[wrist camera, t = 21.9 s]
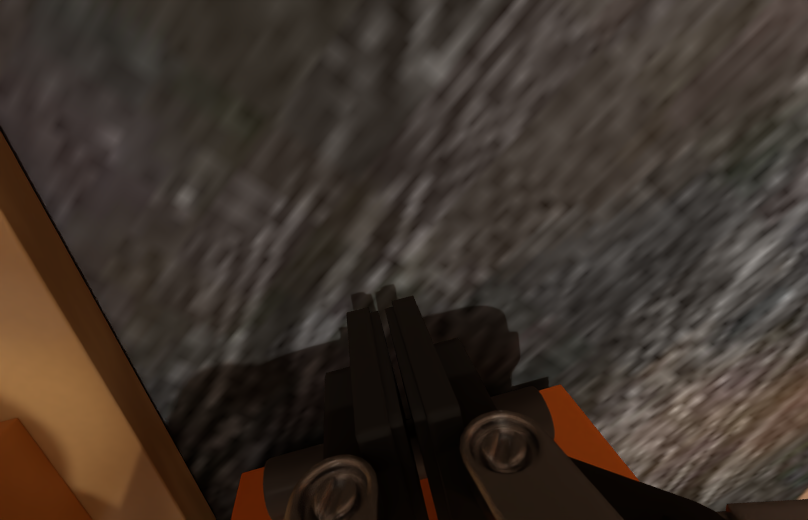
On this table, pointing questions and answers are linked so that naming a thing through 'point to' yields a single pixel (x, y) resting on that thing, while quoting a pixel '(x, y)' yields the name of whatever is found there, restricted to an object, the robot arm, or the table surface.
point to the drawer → (550, 408)
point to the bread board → (78, 375)
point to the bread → (32, 480)
